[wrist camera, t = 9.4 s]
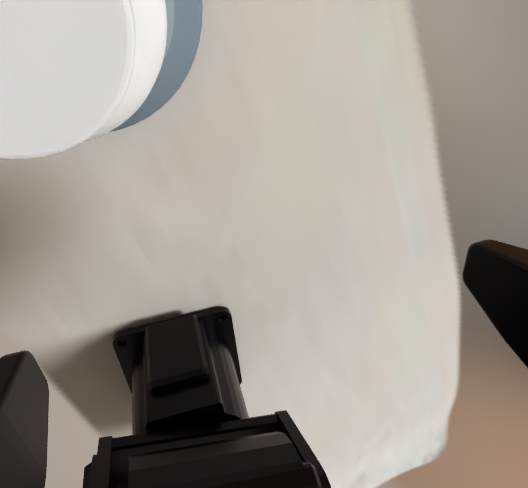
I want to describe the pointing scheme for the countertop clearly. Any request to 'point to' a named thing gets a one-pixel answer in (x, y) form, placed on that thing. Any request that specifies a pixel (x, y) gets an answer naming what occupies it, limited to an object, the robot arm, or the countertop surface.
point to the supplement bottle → (74, 70)
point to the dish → (173, 56)
